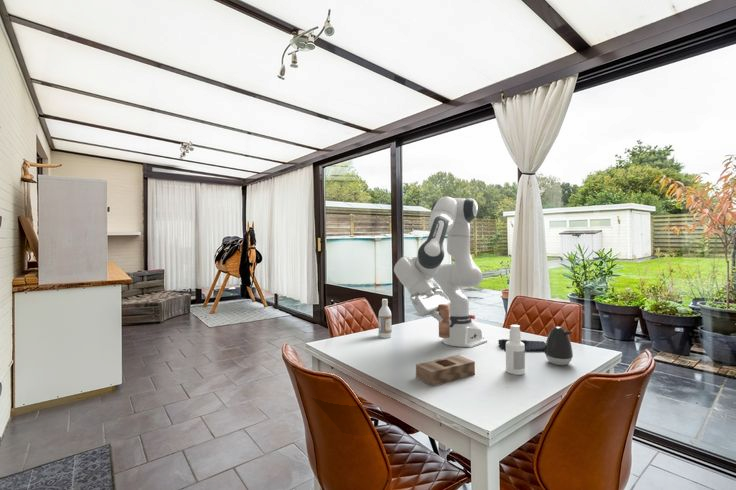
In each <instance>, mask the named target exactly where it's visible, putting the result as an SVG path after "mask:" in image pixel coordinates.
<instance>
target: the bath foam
mask: <svg viewBox="0 0 736 490" xmlns="http://www.w3.org/2000/svg"><path fill="white" fill-rule="evenodd" d="M388 303H389V301H388V298H382V300H381V307H380V309H379V311H378V315H377V316H378V319H377V320H378V338H381V339H390V338H392V336H393V334H392V329H393V328H392V327H393V326H392V321H393V320H392V311H391V309H390V307H389V306H388Z"/></svg>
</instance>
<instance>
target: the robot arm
mask: <svg viewBox="0 0 736 490" xmlns="http://www.w3.org/2000/svg"><path fill="white" fill-rule="evenodd" d="M478 211H479V210H478V203H477V201H476V200H475V198H471V197H466V198H464V197H450V196H442V197H440V198H439V199H438V200H435V201H434V202H433V203H432V204H431V210H430V212H431V213H430V216H429V220H428V230H429V234H428V236H427V239H426V240H425V241H424V242H423V243H421V245H420V246H419V248H418V251H417V256H414V257H407V256H401V257H400V258H399V259H398V260H397V261H396V262H395V264H394V267H393V272H394V274H395V276H396V278H397V279H398V280H399V282H400V284H402V286H404V287H405V288H406V290H407V292H408V293H409V294H410V301H411V303H412V306H413V307H414V309H415V310H416V312H417V313H418V314H419V316H420V317H427V316H429V315H431V317H432V318H434V319H435V320H437V322H438V323H439V322H440V323H441V322H443V321H444V318H443V317H442V316H440V315H439V304H449V313H450V337H449V338H442V343H444V344H445V345H448V346H452V347H463V348H464V347H465V348H473V347H476V346H477V347H478V346H479V345H482V344H485V343H487V342H488V339H487V338H485V337H483V332H482V329H481V328H480V327H479V326H478V325H476V324H475V323H474V322H473V321H472V320H475V319H476V315H474V314H470V310H469V309H470V306H469V305H470V303H469V298H468V296H467V295H465V294H464V293H463V292H462V290H461V289H460V288H467V289H469V288H476V287H479V286H480V285H481V284H482V281H483V273H482V270H481V268H479V267H478V266H477V265H476V264H475V262H474V260H473V258H472V254H471V227H470V226H471V225H470V223H471V222H472V221H473V220H474V219H476V217H477V215H478ZM446 236H447V238H446V251H447V254H448V255H450V256H451V257H452V259H454V263H455V264H453V263H443V264H442V262H443V260H444V257H445V251H444V250H445V249H444V241H445V237H446ZM431 279H433V280H434V281H435V282H436V283H434V282H431V281H429V280H431ZM440 288H441V289H440Z"/></svg>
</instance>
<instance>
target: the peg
mask: <svg viewBox="0 0 736 490" xmlns="http://www.w3.org/2000/svg"><path fill="white" fill-rule="evenodd" d="M438 314H439V315H440V316H442V317H443V318H444V321H443V322H441V323H440V322H439V321H438V338H442V339H444V338H449V337H450V313H449V304H439V311H438Z"/></svg>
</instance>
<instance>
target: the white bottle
mask: <svg viewBox="0 0 736 490" xmlns="http://www.w3.org/2000/svg"><path fill="white" fill-rule="evenodd" d="M509 327H510V329H509V339H508V340H509V341H507V342H506V351H505V371H506V372H507V373H508V374H510V375H516V376H517V375H518V376H522V375H524V374H525V372H526V371H525V370H526V364H525V363H526V356H525V355H526V352H525V344H524V343H523V342H521V340H522V338H521V325H519V324H511V325H509Z"/></svg>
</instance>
